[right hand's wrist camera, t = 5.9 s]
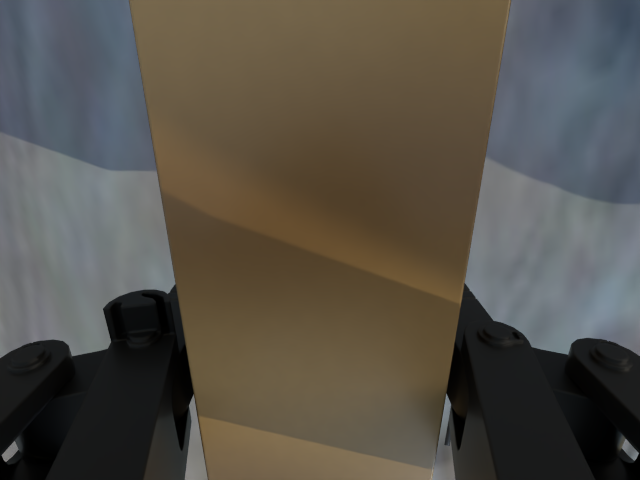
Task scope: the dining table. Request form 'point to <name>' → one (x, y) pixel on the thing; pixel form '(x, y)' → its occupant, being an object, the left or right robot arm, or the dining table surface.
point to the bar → (319, 219)
